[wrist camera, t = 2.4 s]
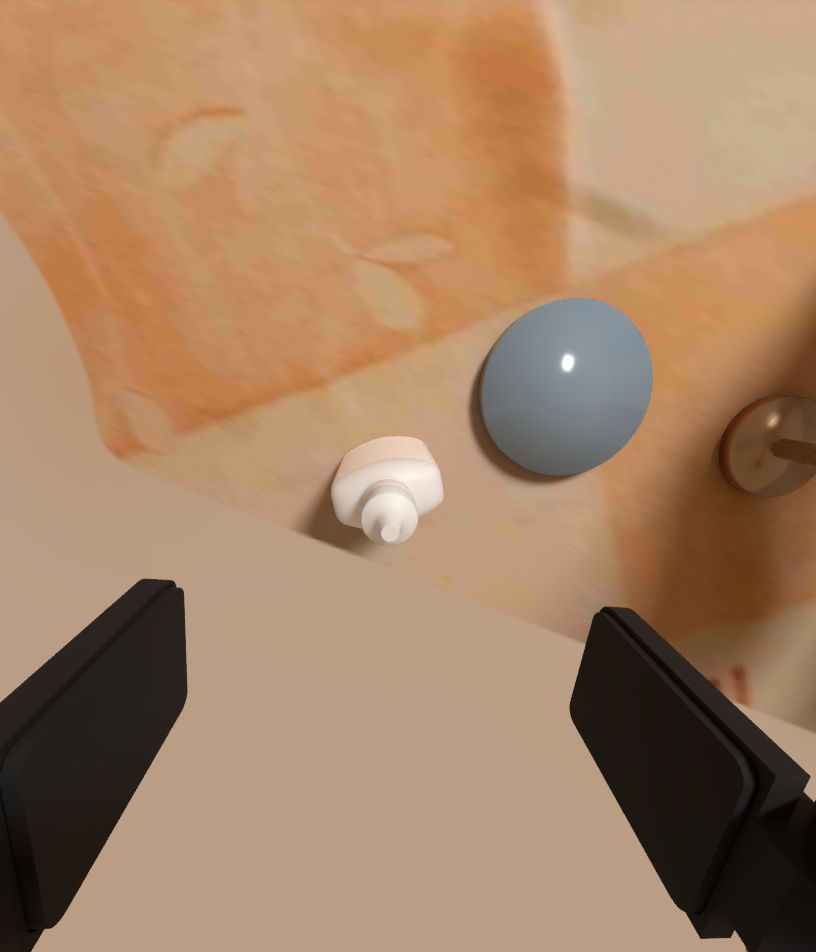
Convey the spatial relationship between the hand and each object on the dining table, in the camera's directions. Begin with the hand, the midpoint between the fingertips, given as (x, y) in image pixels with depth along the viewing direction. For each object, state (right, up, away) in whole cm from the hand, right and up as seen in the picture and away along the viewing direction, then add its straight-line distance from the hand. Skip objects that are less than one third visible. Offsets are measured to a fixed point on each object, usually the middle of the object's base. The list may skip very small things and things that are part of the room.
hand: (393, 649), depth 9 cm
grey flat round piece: (+10, +10, +17) cm, 22 cm away
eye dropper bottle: (-1, +5, +18) cm, 18 cm away
